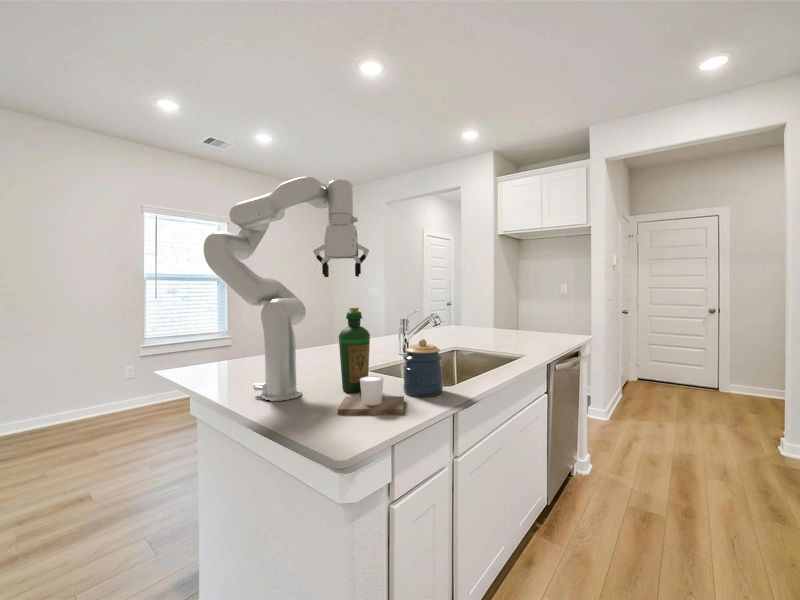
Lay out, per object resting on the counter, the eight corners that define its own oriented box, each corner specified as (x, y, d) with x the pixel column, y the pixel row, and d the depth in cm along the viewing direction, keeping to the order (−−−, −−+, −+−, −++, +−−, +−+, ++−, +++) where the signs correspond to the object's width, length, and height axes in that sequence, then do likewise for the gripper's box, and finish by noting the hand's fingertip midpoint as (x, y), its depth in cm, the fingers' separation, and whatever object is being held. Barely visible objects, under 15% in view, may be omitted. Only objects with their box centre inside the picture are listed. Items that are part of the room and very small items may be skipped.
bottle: (364, 395, 120) (362, 308, 119) (334, 393, 123) (332, 308, 122) (375, 386, 130) (374, 307, 129) (347, 385, 133) (346, 307, 132)
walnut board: (337, 414, 102) (337, 409, 102) (345, 401, 114) (345, 396, 114) (403, 414, 101) (403, 409, 101) (404, 401, 113) (404, 396, 113)
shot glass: (385, 399, 110) (385, 375, 110) (381, 406, 104) (381, 381, 103) (362, 398, 111) (362, 375, 111) (357, 405, 104) (357, 381, 104)
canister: (451, 393, 121) (450, 339, 120) (418, 400, 114) (417, 343, 113) (427, 385, 132) (426, 335, 131) (396, 390, 125) (395, 338, 124)
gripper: (370, 223, 119) (370, 276, 119) (316, 224, 119) (317, 277, 120) (367, 218, 111) (367, 276, 111) (309, 219, 112) (310, 276, 112)
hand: (341, 276), depth 116 cm, fingers open, 9 cm apart
